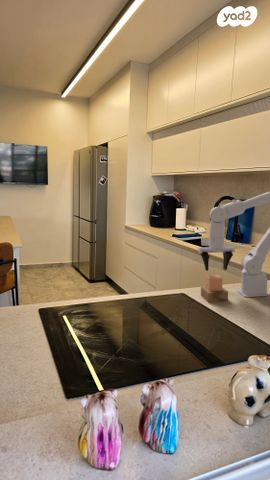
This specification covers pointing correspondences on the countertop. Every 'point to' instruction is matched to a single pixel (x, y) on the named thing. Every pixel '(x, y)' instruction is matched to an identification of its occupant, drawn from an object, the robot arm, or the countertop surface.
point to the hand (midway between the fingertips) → (215, 269)
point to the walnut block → (214, 295)
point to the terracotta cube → (213, 282)
